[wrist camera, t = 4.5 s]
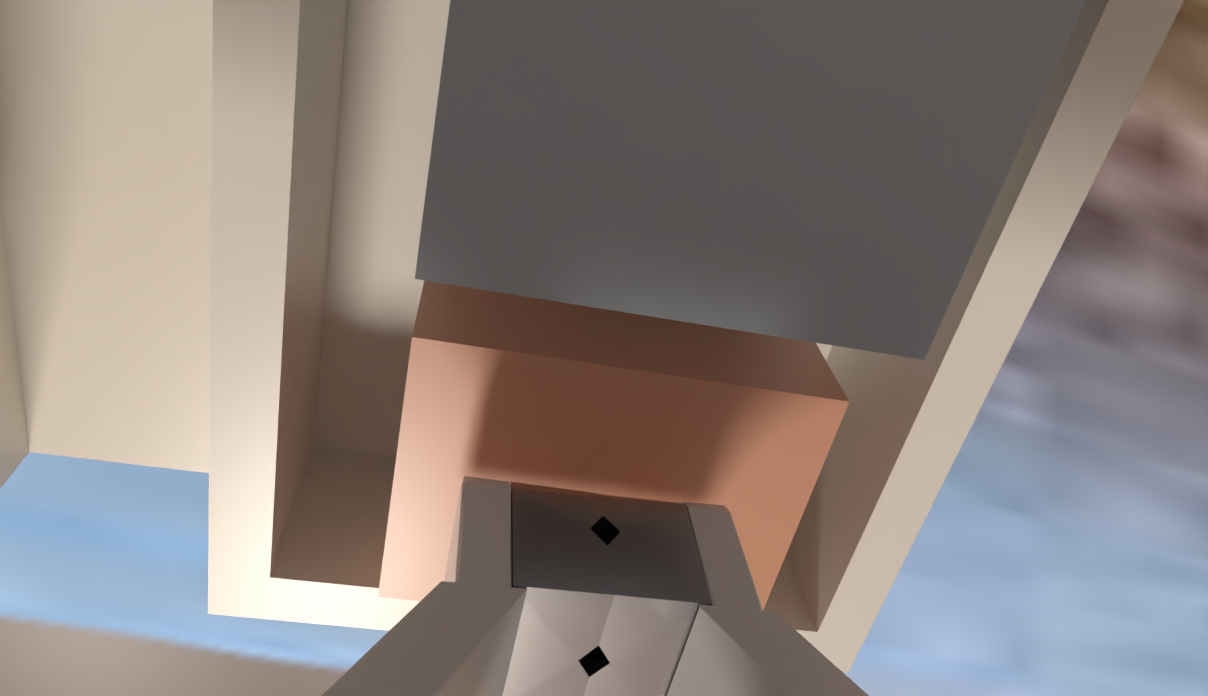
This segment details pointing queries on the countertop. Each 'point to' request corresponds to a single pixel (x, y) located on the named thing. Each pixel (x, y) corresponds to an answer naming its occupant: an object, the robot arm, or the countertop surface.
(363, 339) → the cream open box
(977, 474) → the countertop surface
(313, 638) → the countertop surface
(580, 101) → the slate key
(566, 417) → the terracotta key
